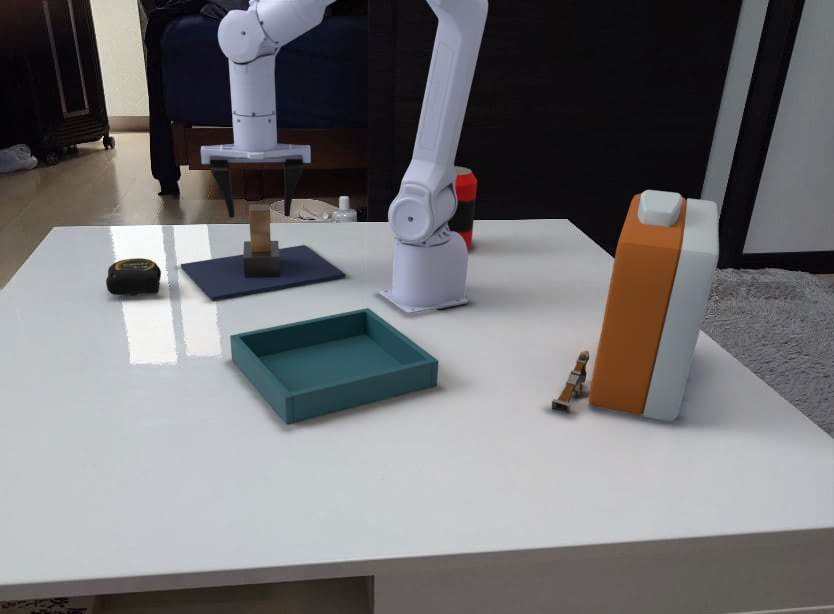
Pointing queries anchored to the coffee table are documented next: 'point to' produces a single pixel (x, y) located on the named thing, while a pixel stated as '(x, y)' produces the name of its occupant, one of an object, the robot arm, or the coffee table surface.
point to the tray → (331, 364)
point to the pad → (229, 280)
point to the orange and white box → (655, 304)
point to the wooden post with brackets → (573, 383)
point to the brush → (260, 246)
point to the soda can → (464, 204)
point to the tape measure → (133, 277)
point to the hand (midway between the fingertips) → (259, 214)
